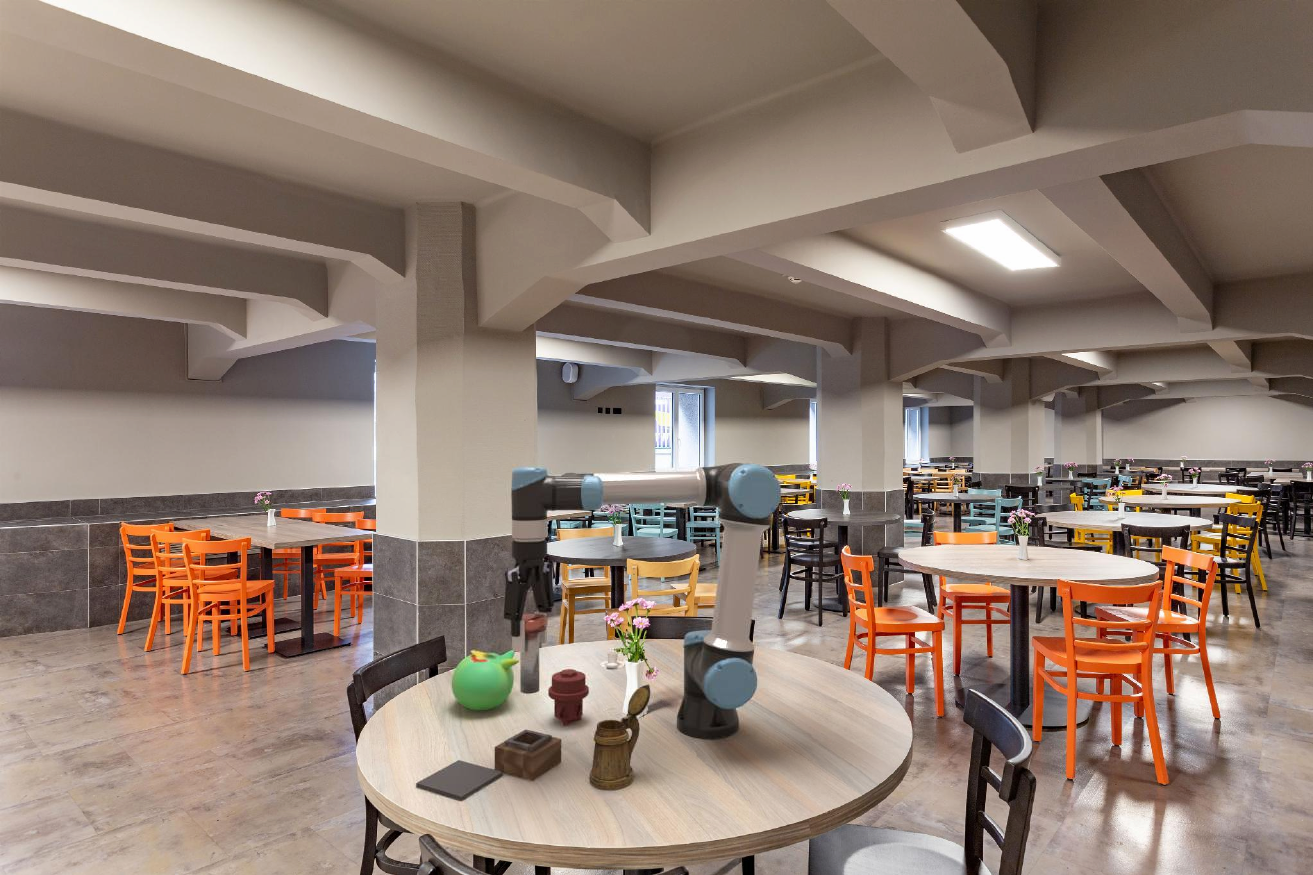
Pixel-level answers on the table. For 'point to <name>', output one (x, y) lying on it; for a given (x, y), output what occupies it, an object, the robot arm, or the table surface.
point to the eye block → (528, 754)
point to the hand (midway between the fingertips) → (529, 646)
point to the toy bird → (484, 679)
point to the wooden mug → (617, 745)
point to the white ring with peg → (612, 661)
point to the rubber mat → (459, 780)
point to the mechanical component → (568, 695)
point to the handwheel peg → (531, 653)
